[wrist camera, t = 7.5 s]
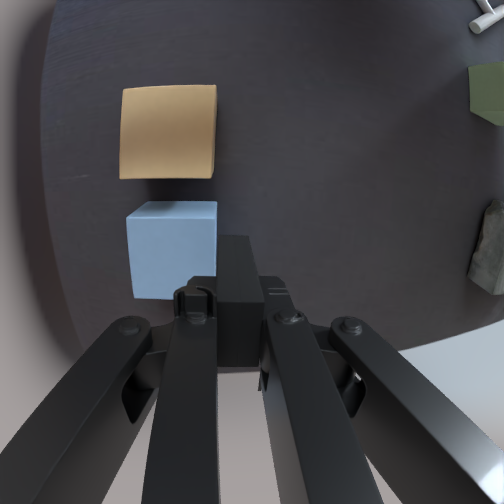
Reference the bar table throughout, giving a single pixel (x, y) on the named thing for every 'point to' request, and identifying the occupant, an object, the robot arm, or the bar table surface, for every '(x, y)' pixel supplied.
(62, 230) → the bar table surface
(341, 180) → the bar table surface
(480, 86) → the sage block
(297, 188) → the bar table surface
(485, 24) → the pipe joint
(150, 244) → the blue block
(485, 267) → the stone block
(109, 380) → the robot arm
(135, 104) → the maple block
